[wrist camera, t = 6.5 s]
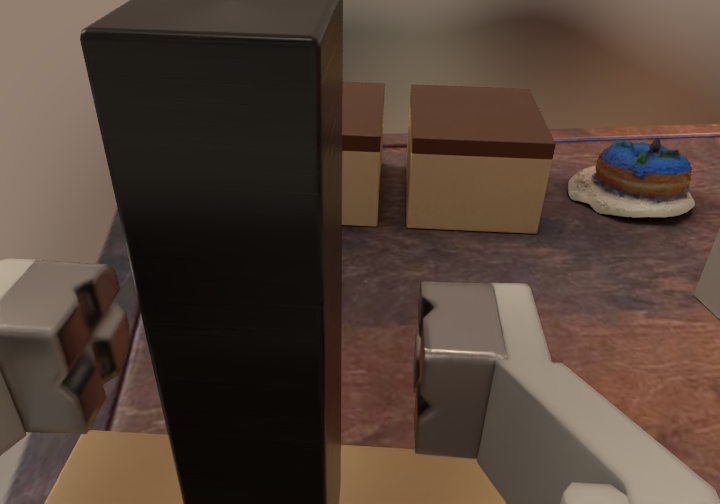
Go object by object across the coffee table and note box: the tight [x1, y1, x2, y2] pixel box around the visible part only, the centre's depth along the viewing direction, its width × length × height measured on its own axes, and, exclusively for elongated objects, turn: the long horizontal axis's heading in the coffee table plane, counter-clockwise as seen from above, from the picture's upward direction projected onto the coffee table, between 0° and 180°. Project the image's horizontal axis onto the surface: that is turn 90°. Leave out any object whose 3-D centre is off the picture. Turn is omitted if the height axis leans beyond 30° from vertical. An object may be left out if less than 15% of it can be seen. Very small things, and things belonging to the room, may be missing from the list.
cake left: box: [342, 82, 385, 226], centre depth 41 cm, size 8×9×6 cm
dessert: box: [568, 137, 695, 218], centre depth 42 cm, size 8×7×6 cm
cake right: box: [406, 85, 555, 234], centre depth 41 cm, size 8×9×6 cm
